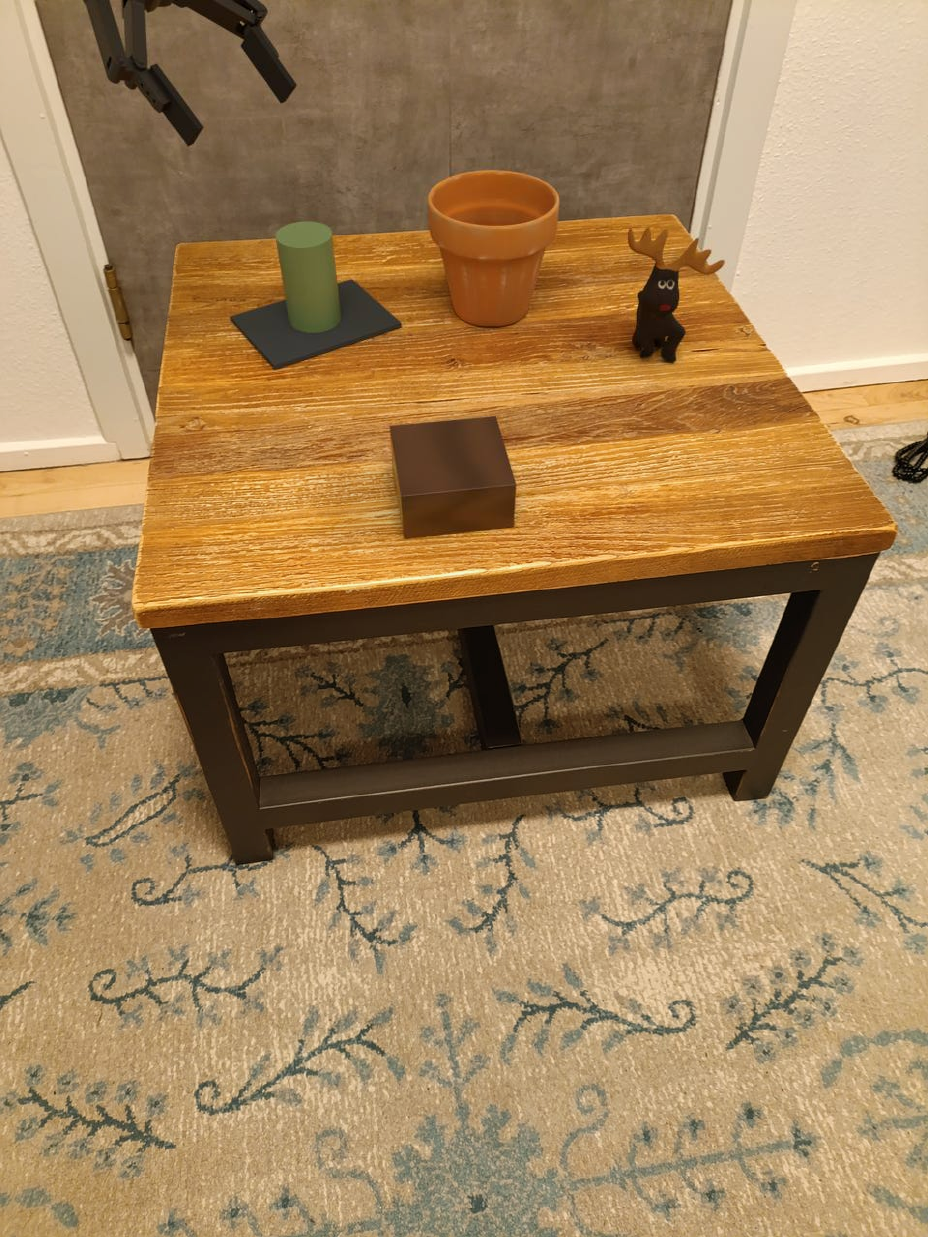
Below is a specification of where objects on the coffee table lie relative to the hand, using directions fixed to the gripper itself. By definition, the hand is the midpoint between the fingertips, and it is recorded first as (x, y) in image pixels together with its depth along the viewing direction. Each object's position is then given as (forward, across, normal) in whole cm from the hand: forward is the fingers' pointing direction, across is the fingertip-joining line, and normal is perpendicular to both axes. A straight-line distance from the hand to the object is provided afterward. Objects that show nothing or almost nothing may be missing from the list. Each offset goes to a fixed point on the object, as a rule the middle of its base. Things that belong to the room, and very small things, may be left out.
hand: (244, 115), depth 89 cm
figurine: (+44, -16, +14) cm, 49 cm away
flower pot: (+30, -14, 0) cm, 33 cm away
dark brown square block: (+40, +16, +10) cm, 45 cm away
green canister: (+19, 0, -11) cm, 21 cm away
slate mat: (+19, 0, -11) cm, 22 cm away
